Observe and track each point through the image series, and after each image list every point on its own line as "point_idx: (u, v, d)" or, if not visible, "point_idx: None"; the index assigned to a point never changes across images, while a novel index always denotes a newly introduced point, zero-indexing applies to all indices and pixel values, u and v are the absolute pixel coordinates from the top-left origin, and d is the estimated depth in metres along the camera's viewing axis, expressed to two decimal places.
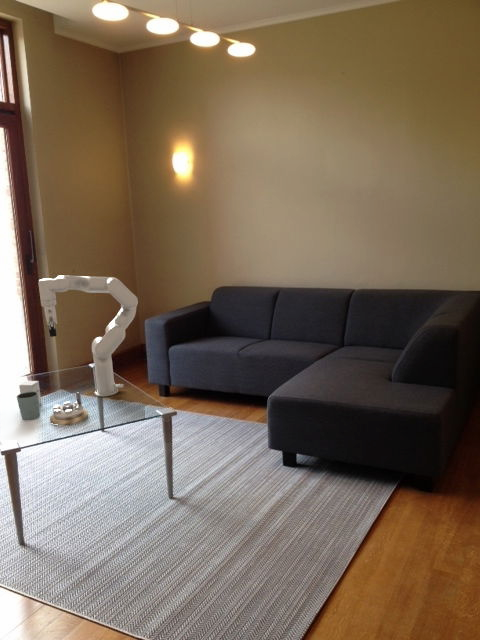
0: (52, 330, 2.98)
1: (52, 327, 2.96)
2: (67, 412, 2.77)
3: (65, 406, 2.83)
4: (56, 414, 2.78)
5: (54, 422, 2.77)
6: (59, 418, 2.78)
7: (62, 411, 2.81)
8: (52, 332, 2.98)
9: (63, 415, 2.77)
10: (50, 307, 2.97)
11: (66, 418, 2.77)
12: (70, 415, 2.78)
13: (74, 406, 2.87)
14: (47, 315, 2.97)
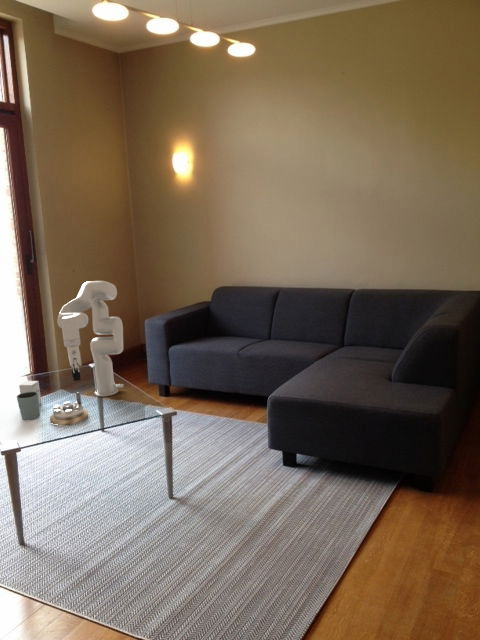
0: (76, 374, 2.72)
1: (76, 371, 2.71)
2: (67, 412, 2.77)
3: (65, 406, 2.83)
4: (56, 414, 2.78)
5: (54, 422, 2.77)
6: (59, 418, 2.78)
7: (62, 411, 2.81)
8: (76, 376, 2.73)
9: (63, 415, 2.77)
10: (74, 348, 2.70)
11: (66, 418, 2.77)
12: (70, 415, 2.78)
13: (74, 406, 2.87)
14: (71, 356, 2.70)
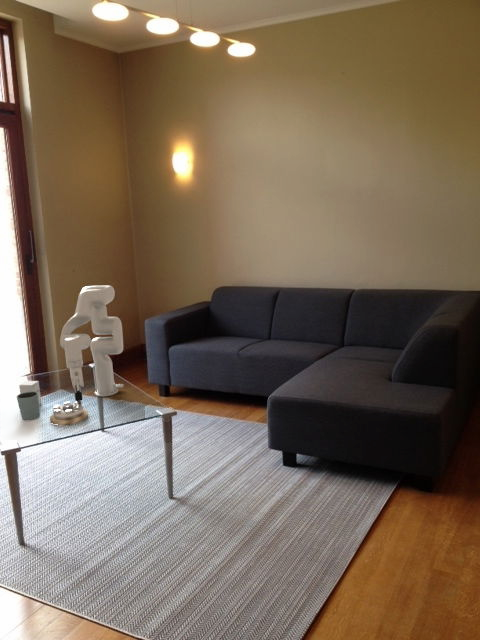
0: (78, 394, 2.77)
1: (78, 391, 2.75)
2: (67, 412, 2.77)
3: (65, 406, 2.83)
4: (56, 414, 2.78)
5: (54, 422, 2.77)
6: (59, 418, 2.78)
7: (62, 411, 2.81)
8: (78, 396, 2.77)
9: (63, 415, 2.77)
10: (76, 369, 2.72)
11: (66, 418, 2.77)
12: (70, 415, 2.78)
13: (74, 406, 2.87)
14: (73, 378, 2.71)
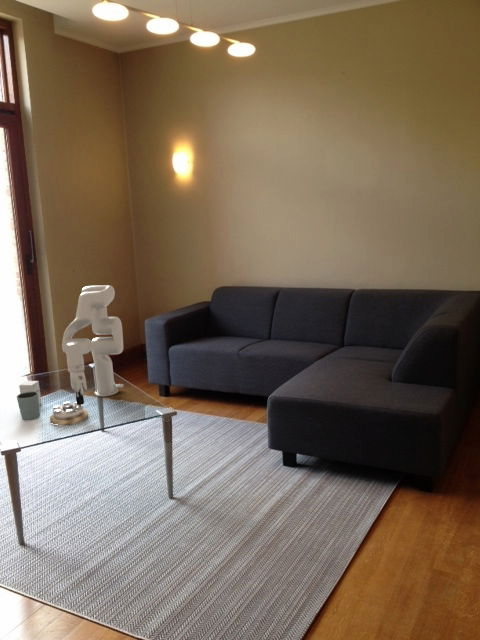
0: (80, 398, 2.80)
1: (81, 395, 2.79)
2: (68, 412, 2.77)
3: (65, 406, 2.83)
4: (56, 414, 2.78)
5: (54, 422, 2.77)
6: (60, 418, 2.78)
7: (62, 411, 2.81)
8: (80, 400, 2.80)
9: (64, 415, 2.77)
10: (80, 373, 2.75)
11: (67, 418, 2.77)
12: (71, 415, 2.78)
13: (74, 406, 2.87)
14: (77, 382, 2.75)
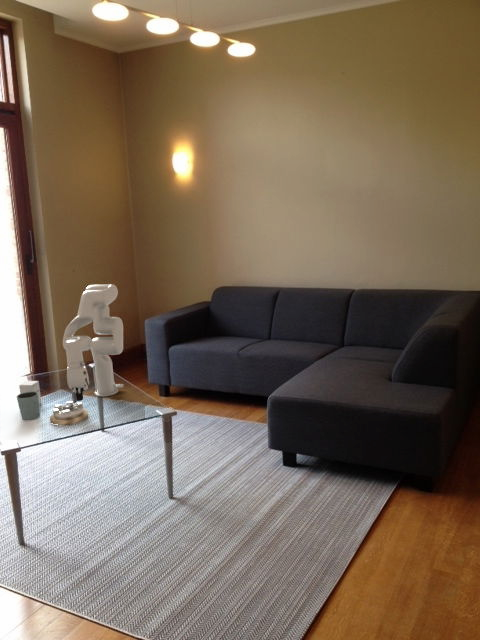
0: (81, 394, 2.85)
1: (83, 390, 2.84)
2: (78, 409, 2.80)
3: (66, 407, 2.83)
4: (67, 414, 2.77)
5: (54, 422, 2.77)
6: (71, 417, 2.78)
7: None
8: (81, 396, 2.85)
9: (75, 413, 2.79)
10: (84, 368, 2.82)
11: (78, 415, 2.80)
12: (80, 411, 2.82)
13: None
14: (83, 377, 2.81)
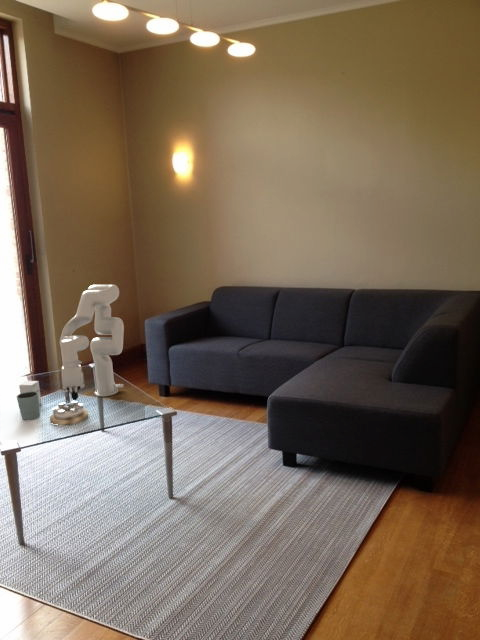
0: (77, 392, 2.88)
1: None
2: (82, 405, 2.85)
3: (67, 407, 2.82)
4: (76, 412, 2.79)
5: (54, 422, 2.77)
6: (79, 414, 2.81)
7: None
8: (77, 394, 2.88)
9: (81, 410, 2.83)
10: (80, 366, 2.86)
11: None
12: None
13: None
14: (81, 375, 2.85)
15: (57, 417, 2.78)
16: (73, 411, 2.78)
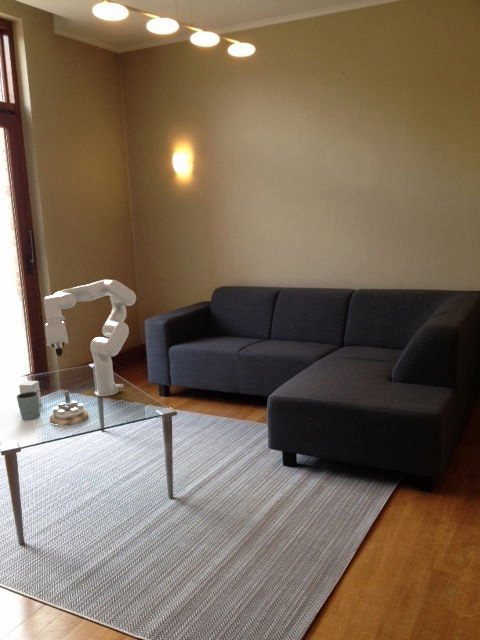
0: (61, 348, 2.94)
1: None
2: (82, 405, 2.85)
3: (67, 407, 2.82)
4: (76, 412, 2.79)
5: (54, 422, 2.77)
6: (79, 414, 2.81)
7: None
8: None
9: (81, 410, 2.83)
10: None
11: None
12: None
13: None
14: (66, 331, 2.92)
15: (57, 417, 2.78)
16: (73, 411, 2.78)
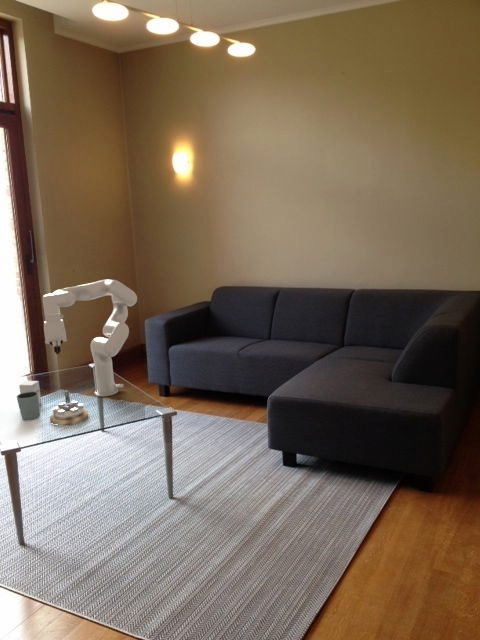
0: (59, 346, 2.95)
1: (61, 343, 2.95)
2: (82, 405, 2.85)
3: (67, 407, 2.82)
4: (76, 412, 2.79)
5: (54, 422, 2.77)
6: (79, 414, 2.81)
7: None
8: None
9: (81, 410, 2.83)
10: (62, 320, 2.93)
11: None
12: None
13: None
14: (64, 329, 2.92)
15: (57, 417, 2.78)
16: (73, 411, 2.78)
